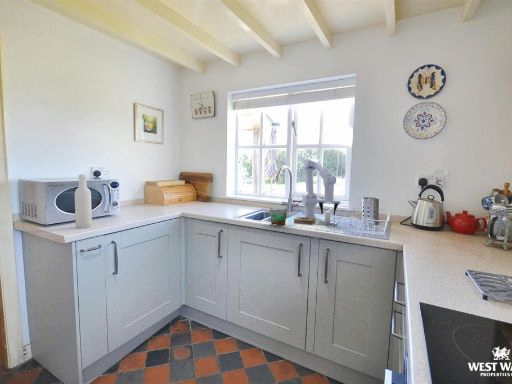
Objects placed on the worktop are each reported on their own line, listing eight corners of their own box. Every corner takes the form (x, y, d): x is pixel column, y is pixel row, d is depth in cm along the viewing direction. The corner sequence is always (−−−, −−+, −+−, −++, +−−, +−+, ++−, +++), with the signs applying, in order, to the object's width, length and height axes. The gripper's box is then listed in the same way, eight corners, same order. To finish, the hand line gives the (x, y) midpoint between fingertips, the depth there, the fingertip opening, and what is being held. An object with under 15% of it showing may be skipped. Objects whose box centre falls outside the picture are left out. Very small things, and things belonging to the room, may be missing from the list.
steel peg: (325, 223, 171) (325, 211, 170) (325, 222, 174) (326, 211, 174) (329, 224, 170) (330, 212, 169) (330, 223, 173) (330, 211, 173)
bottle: (74, 226, 149) (72, 174, 146) (89, 224, 154) (88, 174, 152) (77, 229, 143) (75, 174, 141) (94, 227, 149) (92, 174, 147)
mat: (319, 221, 181) (319, 220, 181) (337, 222, 177) (337, 222, 177) (317, 224, 168) (317, 224, 168) (336, 226, 164) (336, 226, 164)
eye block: (297, 220, 184) (297, 216, 183) (314, 221, 179) (315, 217, 179) (293, 222, 172) (294, 219, 172) (312, 224, 168) (312, 220, 168)
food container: (265, 224, 167) (266, 208, 166) (269, 222, 172) (270, 207, 171) (283, 226, 161) (284, 210, 160) (287, 224, 166) (287, 209, 166)
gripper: (316, 193, 170) (316, 214, 171) (340, 195, 164) (339, 216, 166) (318, 193, 176) (317, 212, 177) (340, 194, 171) (339, 214, 172)
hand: (328, 214), depth 172 cm, fingers open, 7 cm apart
